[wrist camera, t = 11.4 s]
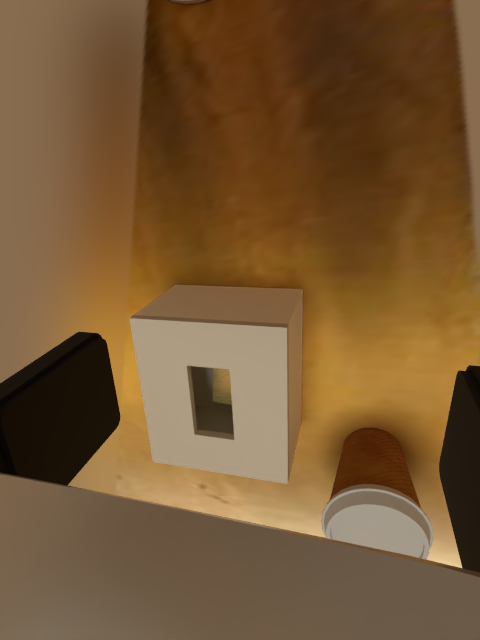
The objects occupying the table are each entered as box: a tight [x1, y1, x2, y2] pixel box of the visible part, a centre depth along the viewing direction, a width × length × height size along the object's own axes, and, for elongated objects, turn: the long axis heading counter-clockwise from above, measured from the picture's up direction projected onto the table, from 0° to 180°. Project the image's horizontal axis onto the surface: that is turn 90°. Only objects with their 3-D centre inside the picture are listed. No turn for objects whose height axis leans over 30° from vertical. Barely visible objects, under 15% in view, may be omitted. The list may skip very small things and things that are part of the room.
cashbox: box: [129, 285, 303, 484], centre depth 41 cm, size 16×14×10 cm
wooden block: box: [213, 368, 232, 405], centre depth 43 cm, size 5×2×6 cm
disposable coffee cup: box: [321, 428, 433, 560], centre depth 40 cm, size 10×10×12 cm
